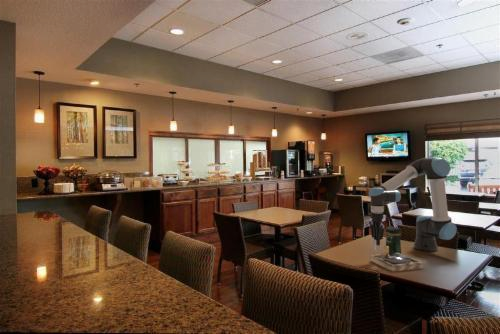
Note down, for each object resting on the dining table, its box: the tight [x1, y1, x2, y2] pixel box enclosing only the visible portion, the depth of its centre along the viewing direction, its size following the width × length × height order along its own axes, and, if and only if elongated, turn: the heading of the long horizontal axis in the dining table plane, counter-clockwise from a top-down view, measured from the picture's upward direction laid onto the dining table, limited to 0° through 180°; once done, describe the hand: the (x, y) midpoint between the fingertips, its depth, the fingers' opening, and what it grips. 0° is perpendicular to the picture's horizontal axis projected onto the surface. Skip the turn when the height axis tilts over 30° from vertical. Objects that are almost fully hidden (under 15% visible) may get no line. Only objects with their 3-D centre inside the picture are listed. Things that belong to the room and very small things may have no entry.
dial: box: [382, 245, 412, 264], centre depth 195 cm, size 16×16×9 cm
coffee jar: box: [384, 226, 402, 254], centre depth 214 cm, size 10×8×19 cm
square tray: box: [370, 253, 423, 272], centre depth 195 cm, size 20×20×4 cm
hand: (376, 249), depth 202 cm, fingers closed
